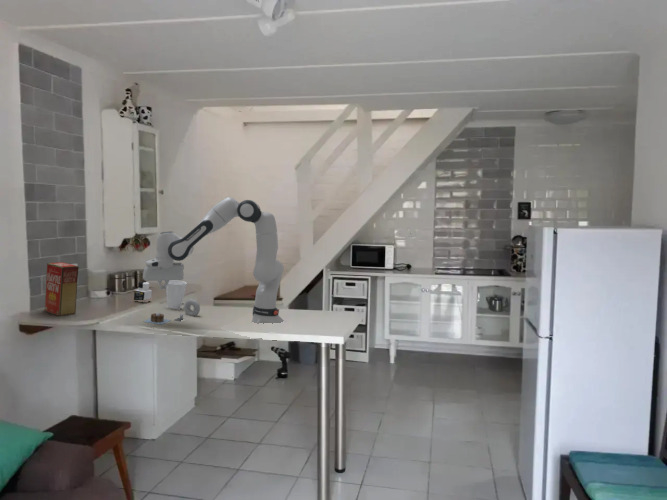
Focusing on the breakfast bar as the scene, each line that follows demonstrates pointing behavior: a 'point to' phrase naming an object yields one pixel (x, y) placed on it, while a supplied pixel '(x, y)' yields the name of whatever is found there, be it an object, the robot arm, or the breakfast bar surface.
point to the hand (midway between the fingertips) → (162, 288)
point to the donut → (195, 305)
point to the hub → (157, 322)
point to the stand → (179, 318)
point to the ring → (157, 318)
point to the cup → (175, 293)
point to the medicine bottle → (142, 291)
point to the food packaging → (61, 288)
